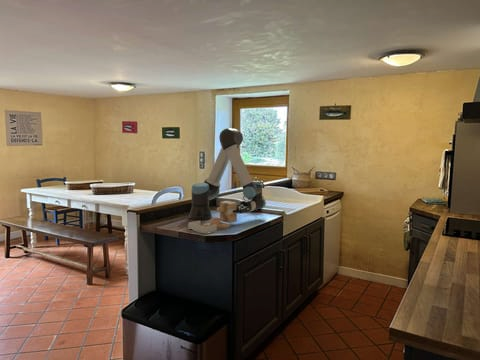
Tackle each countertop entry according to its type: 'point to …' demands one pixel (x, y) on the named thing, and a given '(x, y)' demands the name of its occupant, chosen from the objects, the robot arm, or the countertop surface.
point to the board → (221, 226)
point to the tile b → (215, 222)
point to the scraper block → (224, 211)
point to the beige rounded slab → (201, 227)
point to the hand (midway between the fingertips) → (222, 211)
